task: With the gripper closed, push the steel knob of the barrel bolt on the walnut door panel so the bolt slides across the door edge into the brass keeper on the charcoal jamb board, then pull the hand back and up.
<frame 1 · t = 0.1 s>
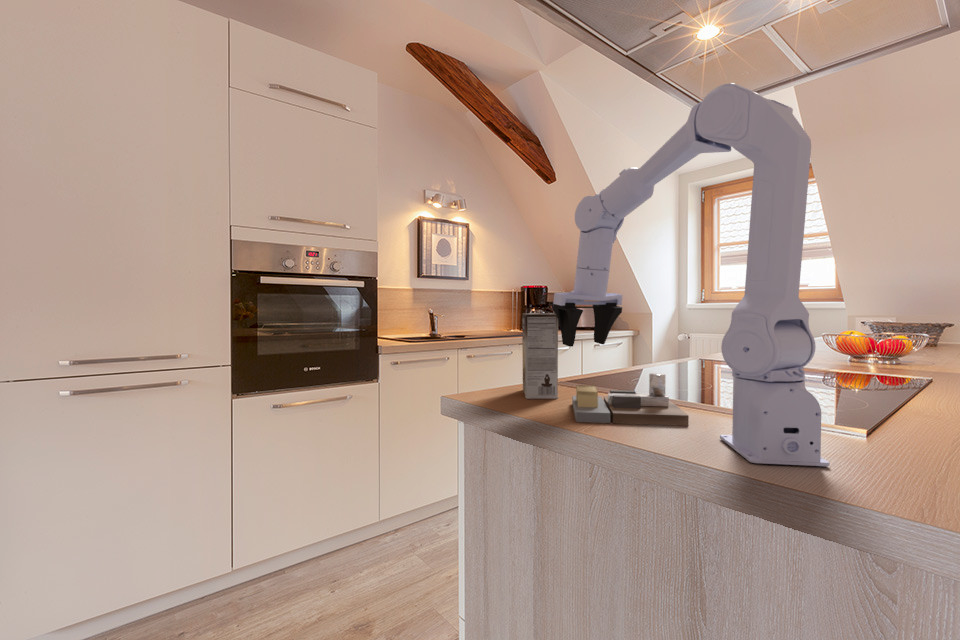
hand: (583, 344, 80), 11 cm above the countertop, tool pointing down, fingers open, 7 cm apart
coffee box: (539, 395, 88), on the countertop
door panel: (624, 413, 72), on the countertop
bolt: (637, 389, 71), point 4 cm above the countertop, slide at 0.0 cm
jamb keeper: (589, 400, 72), on the countertop
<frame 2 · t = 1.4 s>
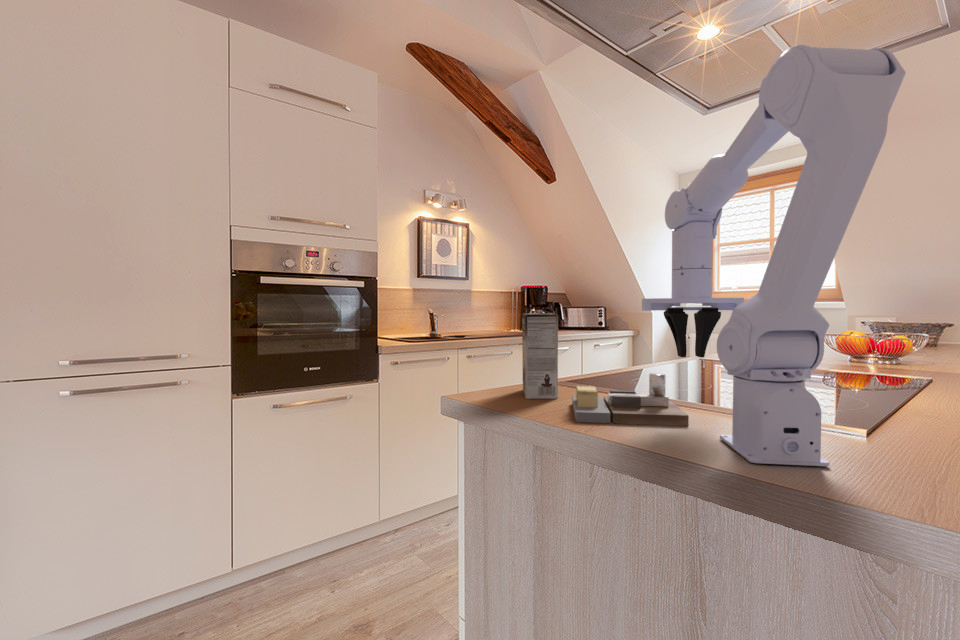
hand: (690, 356, 70), 9 cm above the countertop, tool pointing down, fingers closed
nothing on the countertop moved.
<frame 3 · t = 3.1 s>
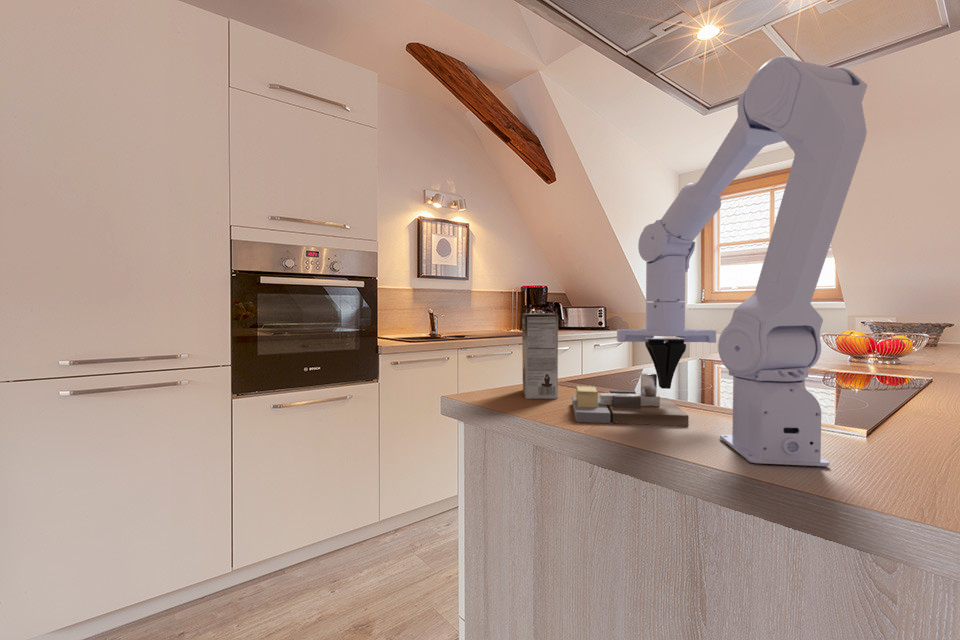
hand: (664, 387, 70), 4 cm above the countertop, tool pointing down, fingers closed
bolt: (629, 389, 71), point 4 cm above the countertop, slide at 1.3 cm, touching gripper
everything else where it was.
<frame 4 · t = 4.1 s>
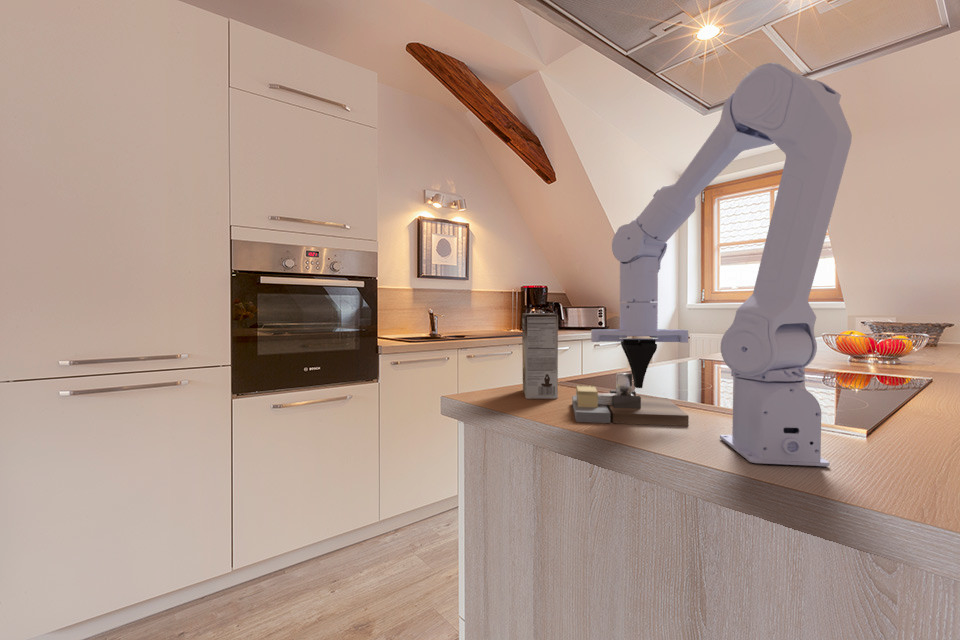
hand: (638, 387, 71), 4 cm above the countertop, tool pointing down, fingers closed
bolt: (604, 388, 72), point 4 cm above the countertop, slide at 5.1 cm, touching gripper
everything else where it was.
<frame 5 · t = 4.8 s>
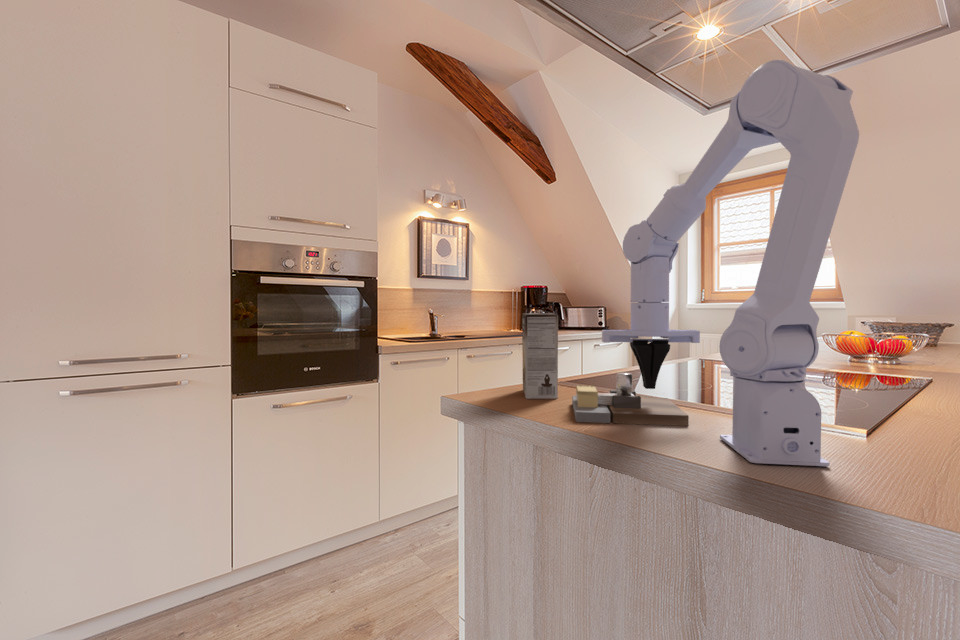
hand: (649, 387, 71), 4 cm above the countertop, tool pointing down, fingers closed
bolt: (605, 388, 72), point 4 cm above the countertop, slide at 5.0 cm
everything else where it was.
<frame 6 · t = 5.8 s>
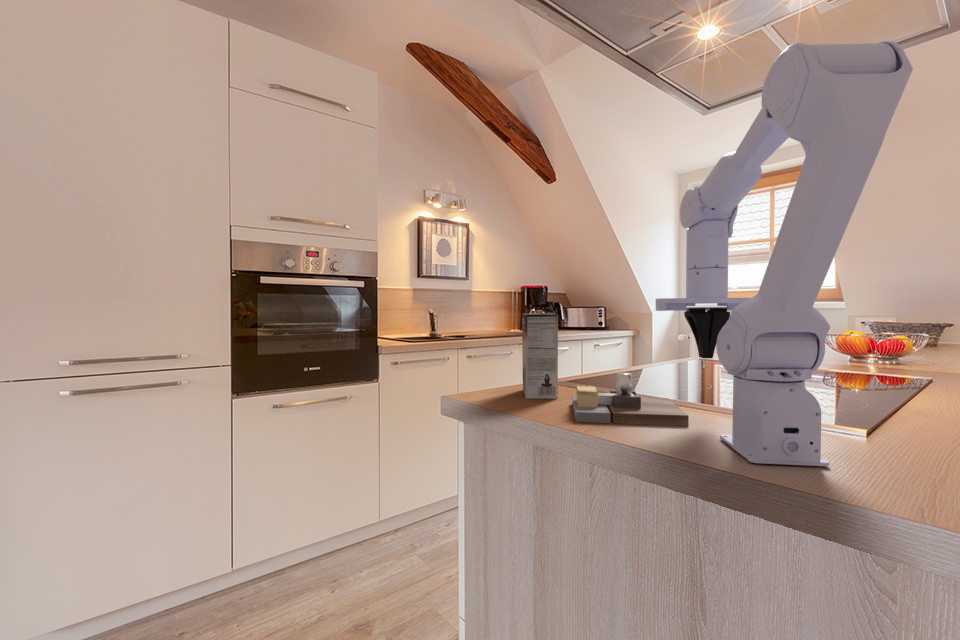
hand: (705, 357, 68), 9 cm above the countertop, tool pointing down, fingers closed
nothing on the countertop moved.
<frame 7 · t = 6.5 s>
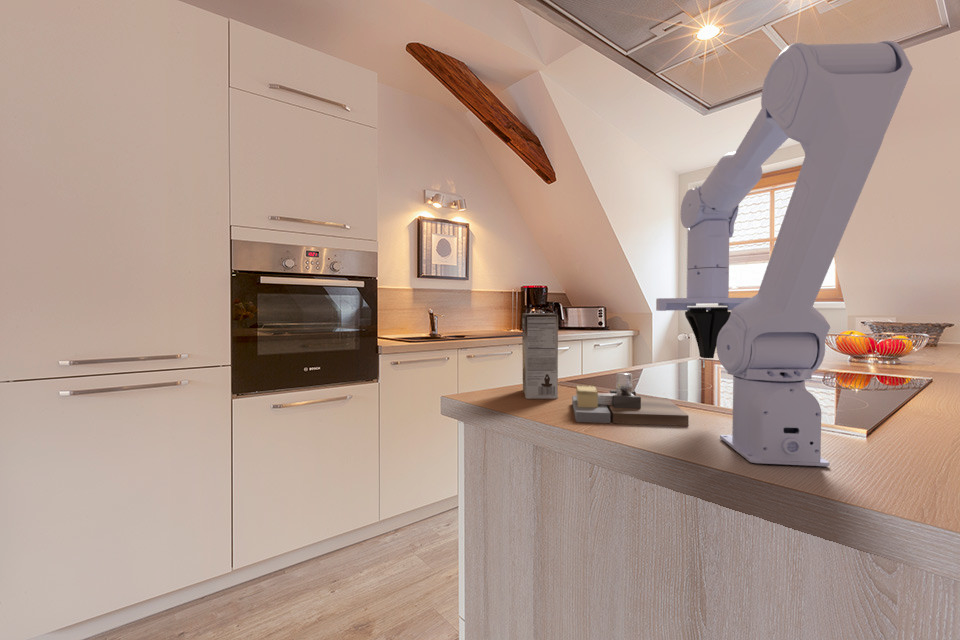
hand: (706, 357, 68), 9 cm above the countertop, tool pointing down, fingers closed
nothing on the countertop moved.
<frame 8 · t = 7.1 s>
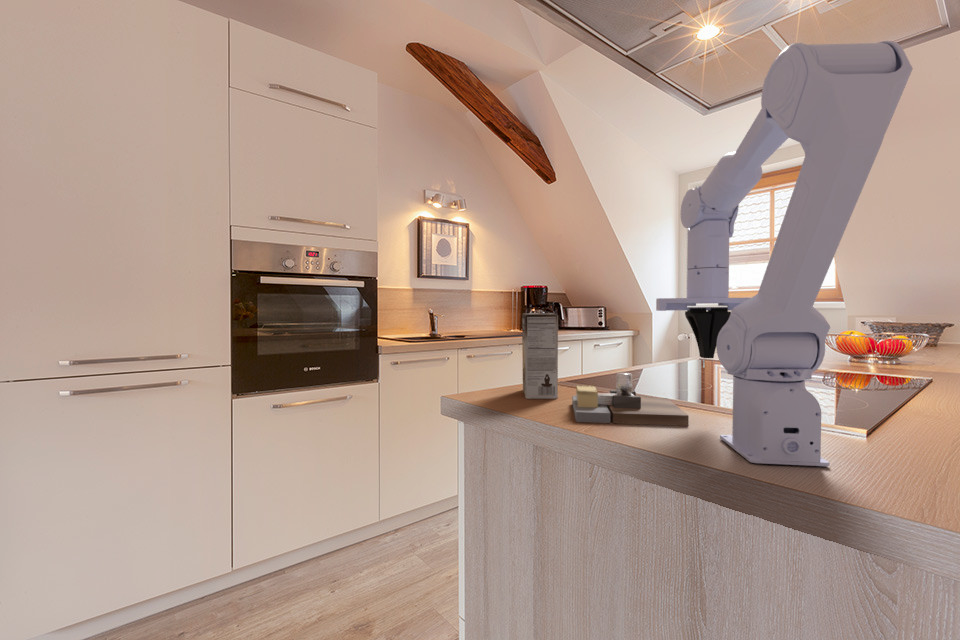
hand: (706, 357, 68), 9 cm above the countertop, tool pointing down, fingers closed
nothing on the countertop moved.
at the end: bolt slide at 5.0 cm; coffee box moved 0.2 cm from its start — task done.
